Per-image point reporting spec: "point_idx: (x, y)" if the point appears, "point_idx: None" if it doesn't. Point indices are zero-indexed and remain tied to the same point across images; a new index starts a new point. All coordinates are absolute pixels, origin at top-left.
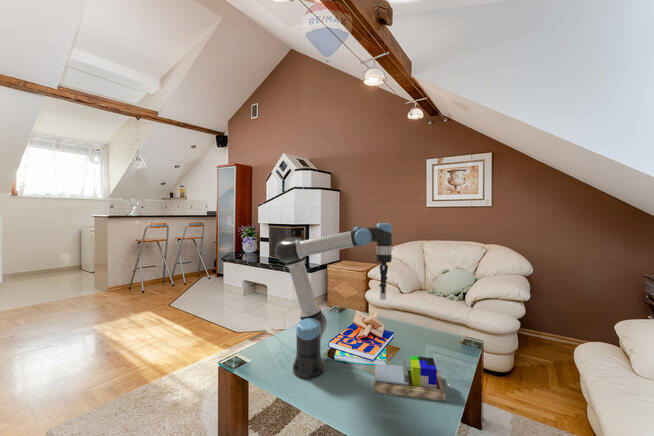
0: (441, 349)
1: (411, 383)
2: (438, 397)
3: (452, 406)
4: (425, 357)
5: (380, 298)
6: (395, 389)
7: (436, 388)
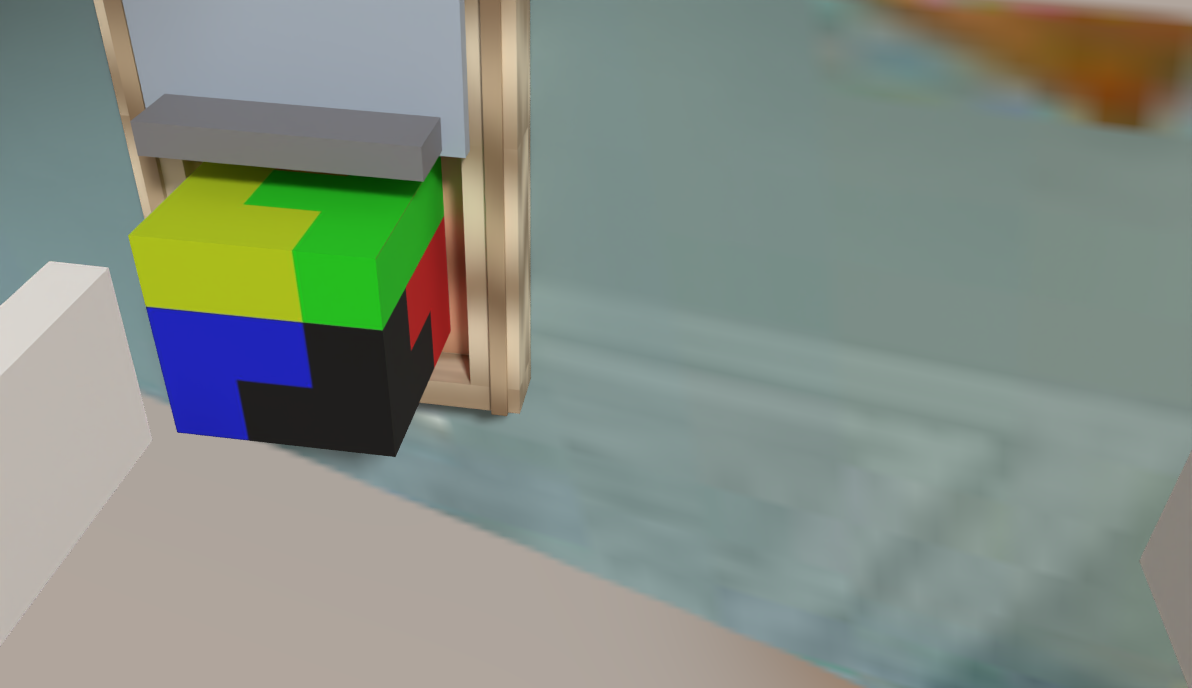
0: (1061, 529)
1: None
2: None
3: (160, 369)
4: (384, 395)
5: (27, 292)
6: None
7: None
